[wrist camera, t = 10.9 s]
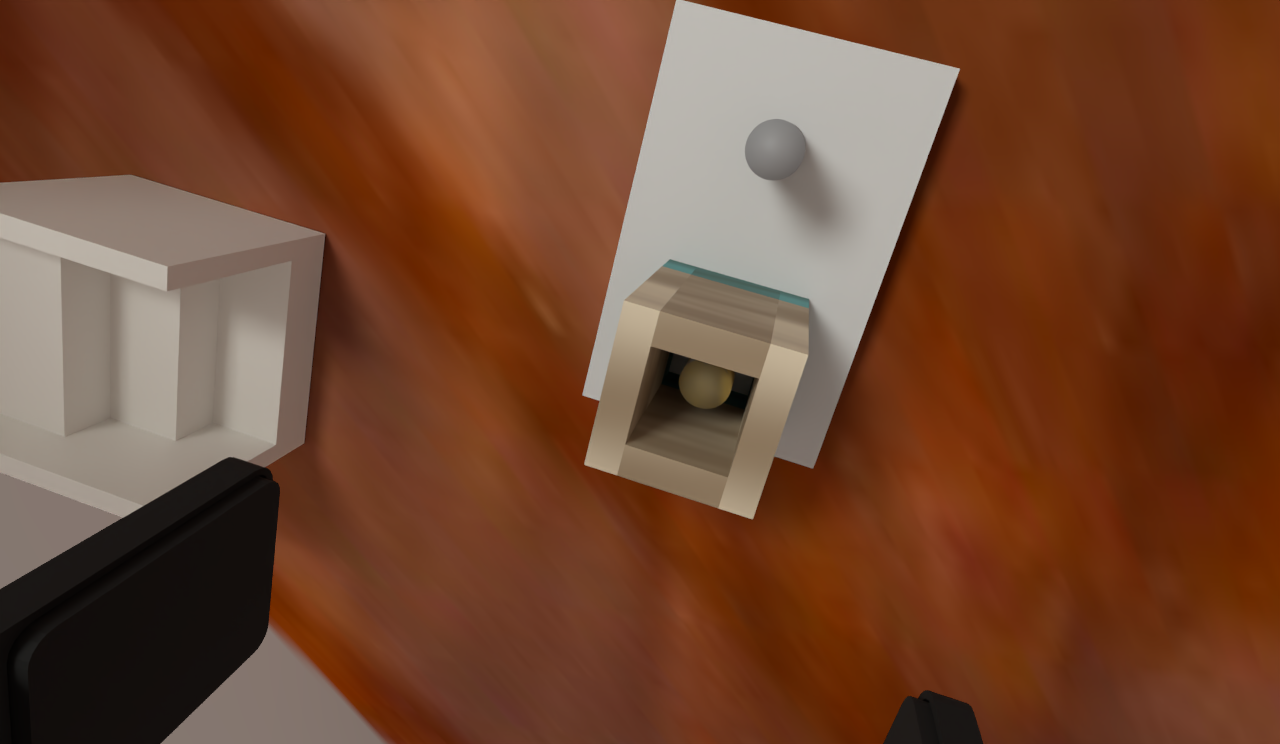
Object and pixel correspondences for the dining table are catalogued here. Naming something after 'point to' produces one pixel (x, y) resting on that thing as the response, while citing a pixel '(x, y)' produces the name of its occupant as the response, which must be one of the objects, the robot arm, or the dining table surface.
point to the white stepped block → (148, 336)
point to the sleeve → (662, 418)
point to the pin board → (776, 188)
